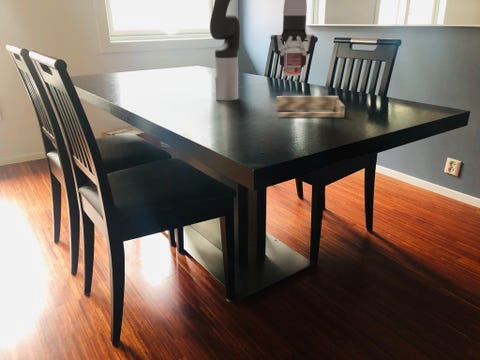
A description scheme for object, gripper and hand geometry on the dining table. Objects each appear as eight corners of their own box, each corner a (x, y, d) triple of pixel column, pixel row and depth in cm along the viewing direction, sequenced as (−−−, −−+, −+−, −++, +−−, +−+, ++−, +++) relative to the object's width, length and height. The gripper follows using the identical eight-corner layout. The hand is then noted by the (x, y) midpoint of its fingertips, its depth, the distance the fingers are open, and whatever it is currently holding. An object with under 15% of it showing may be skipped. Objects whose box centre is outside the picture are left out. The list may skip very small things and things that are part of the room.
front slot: (311, 116, 136) (311, 115, 136) (307, 110, 145) (308, 109, 144) (336, 116, 136) (336, 115, 136) (331, 110, 144) (331, 109, 144)
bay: (277, 117, 135) (278, 103, 133) (276, 109, 147) (276, 96, 145) (343, 117, 134) (345, 103, 132) (336, 109, 146) (338, 95, 144)
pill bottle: (304, 75, 135) (306, 40, 130) (291, 76, 132) (292, 41, 127) (293, 73, 140) (294, 39, 135) (279, 74, 136) (280, 40, 132)
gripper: (273, 14, 125) (272, 68, 131) (318, 14, 124) (315, 68, 131) (272, 14, 132) (271, 65, 138) (315, 14, 131) (312, 65, 138)
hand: (292, 66), depth 135 cm, fingers closed on pill bottle, 6 cm apart
